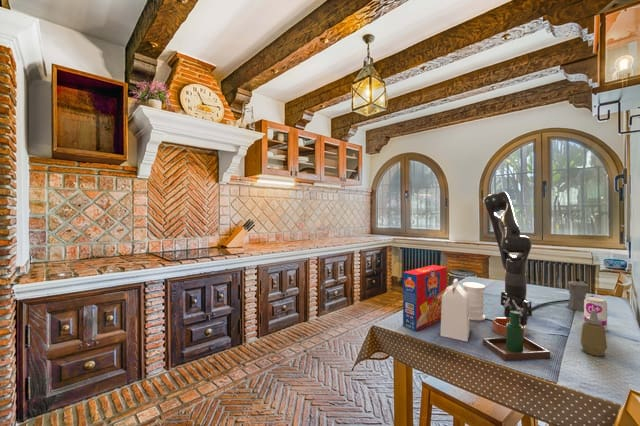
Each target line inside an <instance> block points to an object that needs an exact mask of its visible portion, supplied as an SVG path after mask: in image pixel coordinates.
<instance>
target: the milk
mask: <svg viewBox="0 0 640 426" xmlns="http://www.w3.org/2000/svg"><path fill="white" fill-rule="evenodd" d="M445 290H446V291H445V292H444V294H443V296H442V309H441V320H440V333H439V334H440V335H439V336H440V337H445V338H448V339H449V338H450V339H454V340H458V341H462V342H469V337H470V332H471V329H470V319H469V301H468V294H467V293H466V291H465V290H464V288H463V287H462V286H461V285H460V284H459V280H458V278H454V279H453V281H452V285H449V286H448V287H446V289H445Z"/></svg>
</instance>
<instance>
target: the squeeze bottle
mask: <svg viewBox="0 0 640 426" xmlns="http://www.w3.org/2000/svg"><path fill="white" fill-rule="evenodd" d="M586 321H587V322H584V321H583V322H582V328H581V334H580V344H581V347H582V349H583V351H584V352H585V353H586V354H589V355H592V356H595V357H604V354H605V353H606V351H607V348H608V343H607V334H606V330H605V327H604V326H603V325H601V324H602V320H600V319H598V316H597V312H596V310H592V312H591V315H590V317H587V318H586Z"/></svg>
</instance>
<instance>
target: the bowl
mask: <svg viewBox="0 0 640 426" xmlns="http://www.w3.org/2000/svg"><path fill="white" fill-rule="evenodd" d="M508 322H510V317H503V316H502V317H499V316H498V317H493V319H492V330H493V331H494V332H495V333H496V334H498V335H501V336H503V337H506V324H508ZM521 326H522V327H523V336H524V337H525V338H526V335H527V333H526V332H527V325H521Z"/></svg>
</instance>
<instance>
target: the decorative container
mask: <svg viewBox="0 0 640 426" xmlns="http://www.w3.org/2000/svg"><path fill="white" fill-rule="evenodd" d="M462 288H463V290H465V291H466V293H467V294H468V301H469V320H471V321H484V320H486V315H485V314H484V313H485V310H484V307H485V304H484V300H485V298H484V295H485V291H484V290H485V289H486V286H485V285H484V284H483V283H478V282H472V281H471V282H470V281H469V282H467V281H466V282H463V283H462Z"/></svg>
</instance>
